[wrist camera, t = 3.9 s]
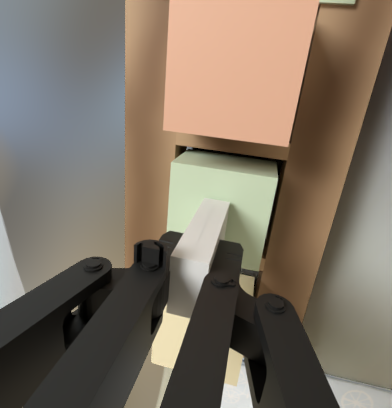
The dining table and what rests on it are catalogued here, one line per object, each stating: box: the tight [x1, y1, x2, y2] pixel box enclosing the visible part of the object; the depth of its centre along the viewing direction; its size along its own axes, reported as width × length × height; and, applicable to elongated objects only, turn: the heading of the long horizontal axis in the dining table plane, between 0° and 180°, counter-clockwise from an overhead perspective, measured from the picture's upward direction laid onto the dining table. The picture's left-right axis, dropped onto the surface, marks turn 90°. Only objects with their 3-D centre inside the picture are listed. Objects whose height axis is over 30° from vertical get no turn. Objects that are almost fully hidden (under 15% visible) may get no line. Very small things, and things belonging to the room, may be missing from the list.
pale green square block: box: [167, 149, 278, 272], centre depth 19 cm, size 6×6×4 cm
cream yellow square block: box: [151, 274, 255, 387], centre depth 21 cm, size 6×6×4 cm
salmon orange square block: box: [163, 0, 320, 147], centre depth 15 cm, size 6×6×4 cm
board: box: [125, 0, 392, 358], centre depth 21 cm, size 14×26×3 cm, turn 174°
